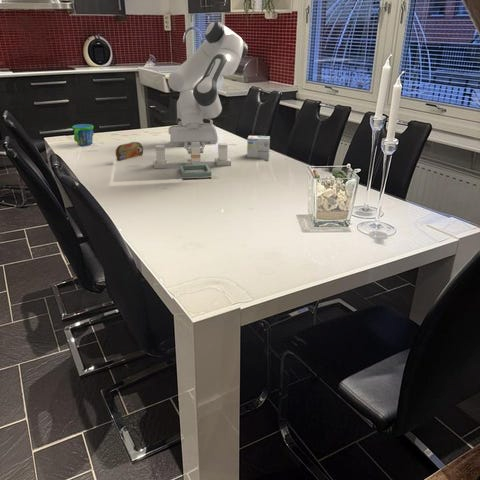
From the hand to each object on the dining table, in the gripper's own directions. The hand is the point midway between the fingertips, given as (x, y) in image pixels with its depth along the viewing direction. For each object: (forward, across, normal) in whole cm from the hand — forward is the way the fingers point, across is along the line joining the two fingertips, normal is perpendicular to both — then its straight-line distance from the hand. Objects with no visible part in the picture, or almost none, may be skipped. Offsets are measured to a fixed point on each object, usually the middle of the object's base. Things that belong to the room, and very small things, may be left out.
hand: (195, 152), depth 196 cm
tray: (+7, 0, +8) cm, 10 cm away
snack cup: (-41, -52, +55) cm, 86 cm away
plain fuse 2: (-3, +14, +15) cm, 21 cm away
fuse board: (-2, 0, +16) cm, 16 cm away
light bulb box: (-10, +33, +25) cm, 43 cm away
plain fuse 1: (-3, -14, +15) cm, 21 cm away
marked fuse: (+3, 0, +4) cm, 5 cm away
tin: (-15, -28, +29) cm, 43 cm away
